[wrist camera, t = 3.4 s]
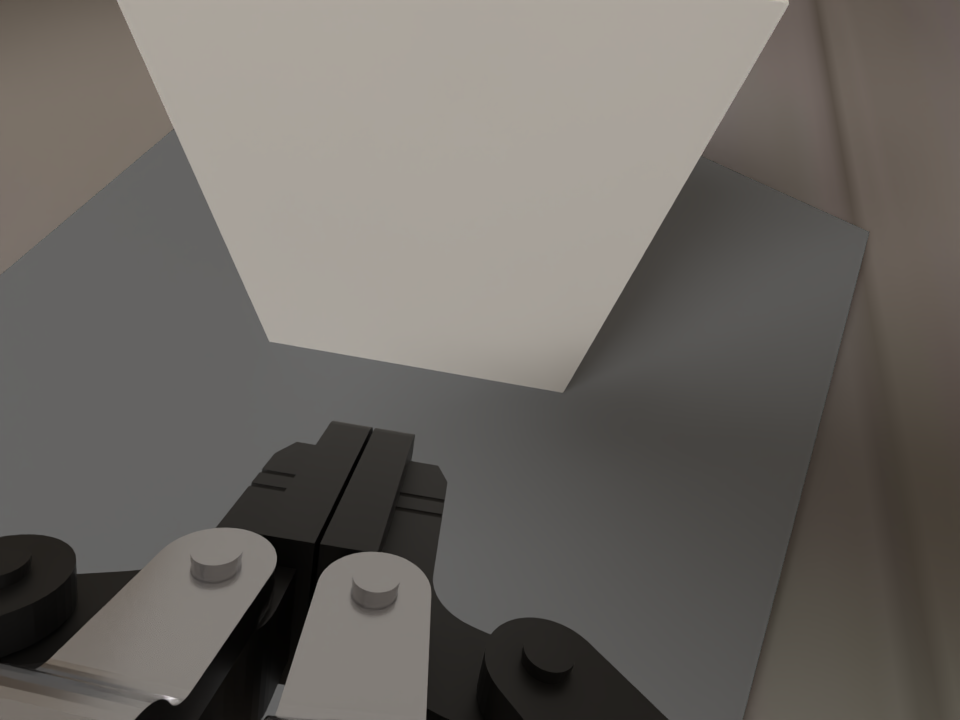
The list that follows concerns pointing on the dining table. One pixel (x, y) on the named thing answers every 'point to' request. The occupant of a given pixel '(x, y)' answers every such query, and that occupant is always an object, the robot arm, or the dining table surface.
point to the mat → (452, 420)
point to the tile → (445, 160)
